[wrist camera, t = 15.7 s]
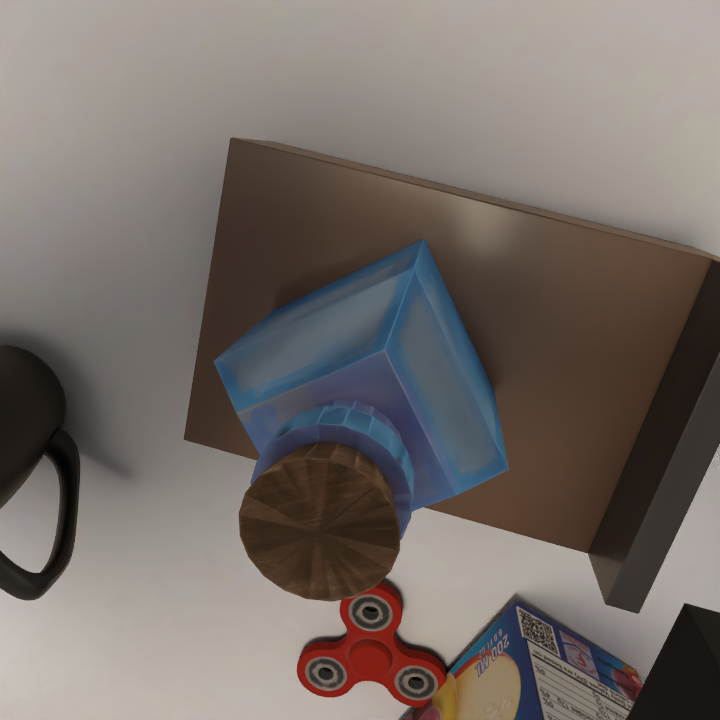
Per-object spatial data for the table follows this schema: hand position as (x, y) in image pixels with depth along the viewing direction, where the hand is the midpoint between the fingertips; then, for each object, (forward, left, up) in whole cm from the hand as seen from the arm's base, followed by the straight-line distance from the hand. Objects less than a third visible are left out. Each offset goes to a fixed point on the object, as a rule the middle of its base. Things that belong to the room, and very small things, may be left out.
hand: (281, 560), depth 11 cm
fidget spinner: (+4, -18, -19) cm, 26 cm away
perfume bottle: (0, 0, -14) cm, 14 cm away
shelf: (+2, 0, -18) cm, 18 cm away
